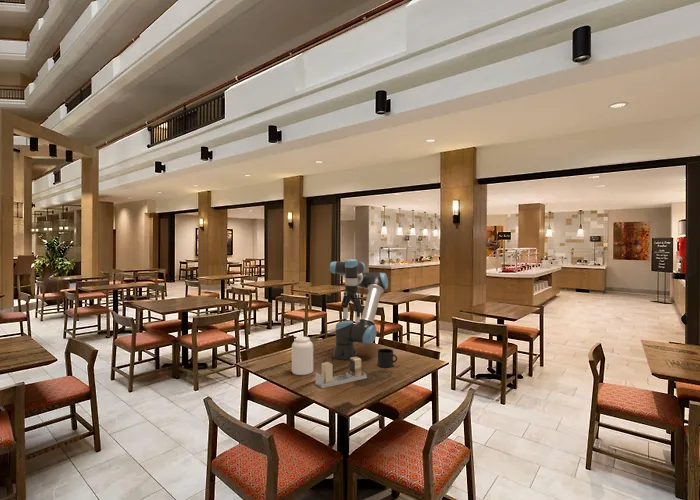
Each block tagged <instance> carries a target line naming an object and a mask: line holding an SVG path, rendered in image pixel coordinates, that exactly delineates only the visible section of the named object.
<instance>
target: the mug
mask: <svg viewBox="0 0 700 500" xmlns="http://www.w3.org/2000/svg"><path fill="white" fill-rule="evenodd" d="M394 357H395V360H394ZM397 361H398V357H397V355H396V354H394V350H392V349H390V348H379V349H378V350H377V366H378V367H379V368H383V369H384V368H385V369H388V368H392V367H393V366H394V363H396V362H397Z"/></svg>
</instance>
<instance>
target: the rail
mask: <svg viewBox="0 0 700 500" xmlns="http://www.w3.org/2000/svg"><path fill="white" fill-rule="evenodd" d="M367 378H368V374H366V372H364V371H362V370H361V375H360V376H354V375H352V374H350V371H349V372H348V371H346V372H345V373H344V374H339V375H336V376H335V375H334V365H333V363H331V362H329V361H326V362H322V363H321V374H320V373H319V372H315V385H316V386H317V387H319V388H320V389H325V388H330V387H334V386H338V385H344V384H347V383H352V382H357V381H360V380H361V381H362V380H365V379H367Z"/></svg>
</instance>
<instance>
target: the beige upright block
mask: <svg viewBox="0 0 700 500" xmlns="http://www.w3.org/2000/svg"><path fill="white" fill-rule="evenodd" d="M361 371H362V358H360V357H359V356H356V357H352V358H350V359H349V373H350V374H352V375H354V376H360V375H361Z"/></svg>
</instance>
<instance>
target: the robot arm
mask: <svg viewBox="0 0 700 500" xmlns="http://www.w3.org/2000/svg"><path fill="white" fill-rule="evenodd" d="M329 271H330V273H331V274H338V275H340V276H342V277H344V281H345V282H344V284H345V286H344V292H343V297H342V302H341V305H340V306H341V307H342V308H343V309H342V312H343V319H344V320H342V321H338V322H337V323H336V324H335V346H334V349H333V352H332V353H333V354H332V356H333V358H334V359H336V360H342V361H343V360H344V361H347V360H350V358H352V357H357V353H356V350H355V346H354V343H360V344H372V343H373V342H375V339H376V336H377V332H378V331H377V330H378V329H377V327H376V323H375V317H376V315H377V309H378V306H379V301H380V297H381V294H384V290H387V289H388V287H389V281H388V279H389V278H388V276H387V274H386V273H385V272H367V271H366V264H365V263H364V262H362V261H358V260H357V259H354V258H353V259H349V258H348V259H346V260H345V261H332V262H330V264H329ZM365 271H366V272H365ZM358 287H360V288H363V289H367V290H368V293H367V296H366V300H365V303H364V308H363V306H362V302H361V299H360V298H361V297H360V293H357V292H358V291H359V289H358ZM350 302H352V304H353V306H354V310H355V314H354V315H355V316H354V317H355V318H354V320H355V321H353V320H346V319H349V307H348V306H349V304H350ZM361 311H362V314H361ZM354 322H355V323H354Z"/></svg>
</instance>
